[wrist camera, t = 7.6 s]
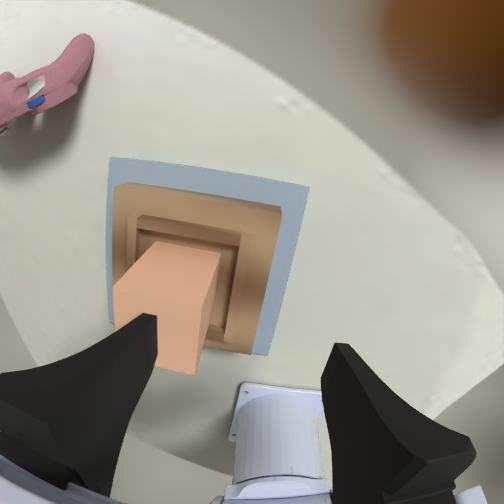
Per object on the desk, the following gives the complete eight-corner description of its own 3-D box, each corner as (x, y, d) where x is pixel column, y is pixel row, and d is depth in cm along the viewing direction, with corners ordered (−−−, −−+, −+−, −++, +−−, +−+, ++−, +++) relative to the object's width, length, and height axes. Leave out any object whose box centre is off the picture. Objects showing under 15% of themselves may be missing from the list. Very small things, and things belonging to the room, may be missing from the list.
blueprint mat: (267, 352, 23) (267, 355, 23) (111, 319, 23) (109, 322, 22) (308, 186, 19) (309, 187, 18) (113, 157, 18) (110, 157, 18)
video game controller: (19, 115, 18) (-29, 158, 14) (5, 72, 15) (-50, 108, 10) (110, 81, 18) (62, 120, 13) (97, 27, 14) (40, 48, 10)
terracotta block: (212, 310, 19) (194, 375, 14) (153, 298, 19) (117, 355, 13) (221, 253, 18) (201, 306, 12) (155, 241, 18) (112, 286, 12)
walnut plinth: (252, 337, 22) (250, 362, 20) (125, 311, 22) (110, 331, 19) (280, 206, 19) (283, 217, 16) (127, 181, 18) (108, 189, 16)
